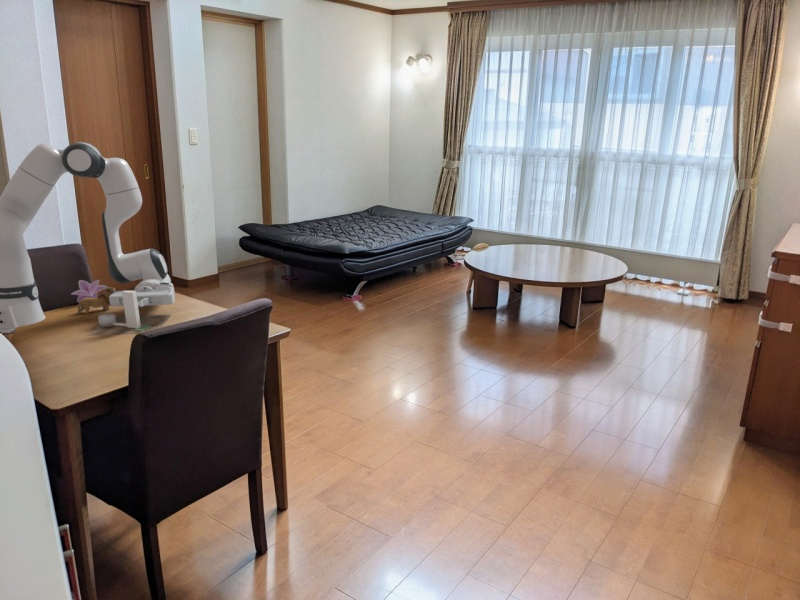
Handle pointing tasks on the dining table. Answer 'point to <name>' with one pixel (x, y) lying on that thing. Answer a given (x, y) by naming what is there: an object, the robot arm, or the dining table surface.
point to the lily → (88, 289)
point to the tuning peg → (130, 313)
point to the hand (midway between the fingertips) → (135, 304)
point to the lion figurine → (96, 301)
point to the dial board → (146, 324)
